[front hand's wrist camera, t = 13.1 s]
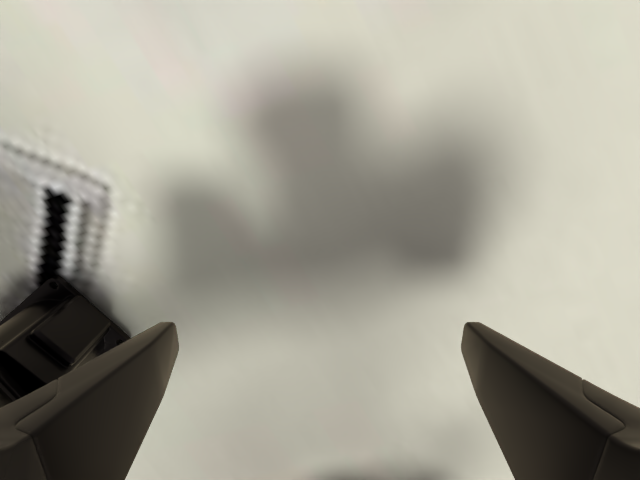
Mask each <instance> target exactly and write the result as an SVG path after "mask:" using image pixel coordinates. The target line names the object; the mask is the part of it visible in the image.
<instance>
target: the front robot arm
mask: <svg viewBox="0 0 640 480" xmlns="http://www.w3.org/2000/svg"><path fill="white" fill-rule="evenodd" d="M54 282H55V283H57V285H58V286H56V285H55V284H54ZM120 340H122V341H123V342H121V341H120ZM178 350H179V343H178V336H177V330H176V325H175V324H174V323H173V322H161V323H158V324H157V325H155V326H153V327H151V328H149V329H147V330H146V331H144V332H142V333H140V334H138V335H136V336H135V337H133V338H131V339H130V338H129V336H128V335H127V334H126V333H124V332H123V331H122V330H121V329H120V328H119V327H118V326H116V325H115V324H114V323H113V322H112V321H111V320H110V319H108V318H107V317H106V316H105V315H104V314H103V313H102V312H101V311H99V310H98V309H97V308H96V307H95V306H94V305H93V304H91V303H90V302H89V301H88V300H87V299H86V298H85V297H83V296H82V295H81V294H80V293H79V292H78V291H77V290H76V289H74V288H73V287H72V286H71V285H70V284H69V283H68V282H66V281H65V280H64V279H63V278H61V277H59V276H53V277H51V278H50V279H48V280H47V281H46V282H45V283H44V284H43V285H41V286H40V287H39V288H38V289H37V290H36V291H35V292H33V293H32V294H31V295H30V296H29V297H28V298H27V299H26V300H24V301H23V302H22V303H21V304H20V305H19V306H18V307H16V308H15V309H14V310H13V311H12V312H11V313H10V314H9V315H7V316H6V317H5V318H4V319H3V320H2V321H1V322H0V480H125V478H126V476H127V474H128V472H129V470H130V467H131V465H132V463H133V461H134V459H135V457H136V455H137V452H138V450H139V448H140V446H141V444H142V442H143V439H144V437H145V435H146V433H147V431H148V429H149V427H150V424H151V422H152V420H153V418H154V416H155V414H156V411H157V409H158V407H159V405H160V403H161V400H162V398H163V396H164V393H165V390H166V388H167V385H168V381H169V378H170V375H171V372H172V369H173V366H174V363H175V360H176V357H177V354H178ZM461 350H462V354H463V357H464V360H465V363H466V366H467V369H468V372H469V375H470V378H471V381H472V384H473V388H474V390H475V393H476V396H477V398H478V400H479V403H480V405H481V407H482V409H483V411H484V414H485V416H486V418H487V420H488V422H489V424H490V427H491V429H492V431H493V433H494V435H495V437H496V439H497V442H498V444H499V446H500V448H501V450H502V452H503V455H504V457H505V459H506V461H507V463H508V465H509V467H510V470H511V472H512V474H513V476H514V478H515V480H640V408H639V407H636V406H634V405H632V404H630V403H628V402H626V401H624V400H622V399H620V398H618V397H616V396H614V395H612V394H611V393H609V392H607V391H605V390H603V389H601V388H599V387H597V386H595V385H594V384H592V383H590V382H588V381H586V380H582V378H581V377H579V376H577V375H575V374H573V373H571V372H570V371H568V370H566V369H564V368H562V367H560V366H559V365H557V364H555V363H553V362H551V361H549V360H548V359H546V358H544V357H542V356H540V355H538V354H537V353H535V352H533V351H531V350H529V349H527V348H526V347H524V346H522V345H520V344H518V343H516V342H515V341H513V340H511V339H509V338H507V337H505V336H504V335H502V334H500V333H498V332H496V331H494V330H493V329H491V328H489V327H487V326H485V325H483V324H482V323H479V322H467V323H466V324H465V325H464V330H463V336H462V343H461Z"/></svg>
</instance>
